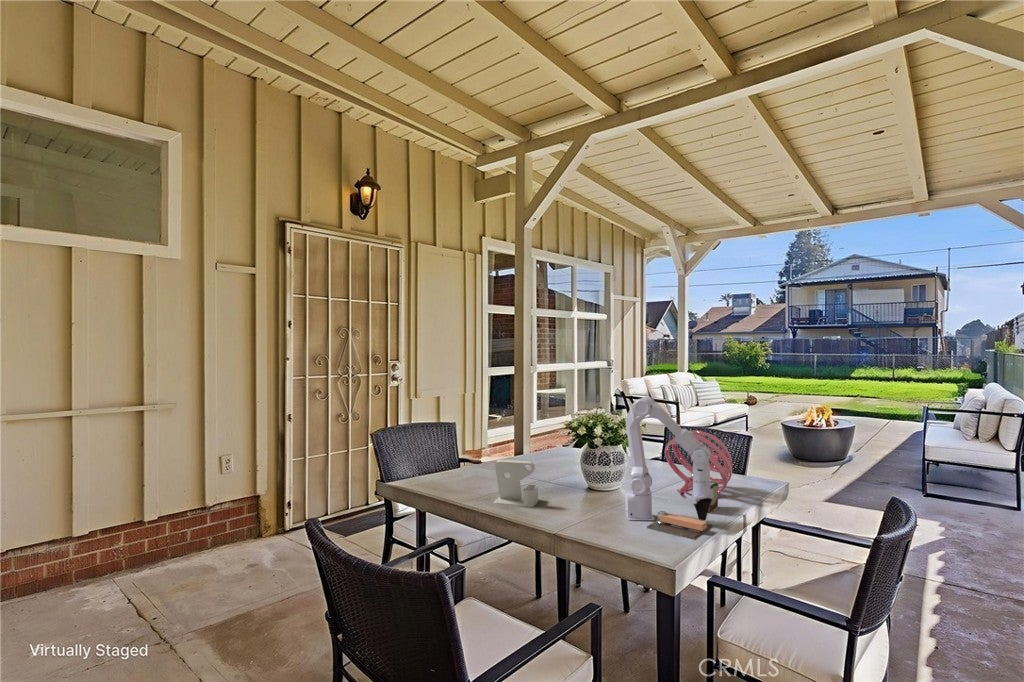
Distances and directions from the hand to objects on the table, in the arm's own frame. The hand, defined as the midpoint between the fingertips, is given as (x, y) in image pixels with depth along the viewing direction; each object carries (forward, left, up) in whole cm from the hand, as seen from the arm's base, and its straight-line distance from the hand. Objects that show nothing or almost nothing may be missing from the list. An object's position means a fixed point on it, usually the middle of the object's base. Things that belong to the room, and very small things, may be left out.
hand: (702, 519), depth 179 cm
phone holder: (-67, +26, -2) cm, 72 cm away
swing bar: (-8, -2, -1) cm, 8 cm away
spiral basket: (+11, +38, -2) cm, 40 cm away
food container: (+7, +18, -2) cm, 20 cm away
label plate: (-8, -2, -2) cm, 9 cm away
